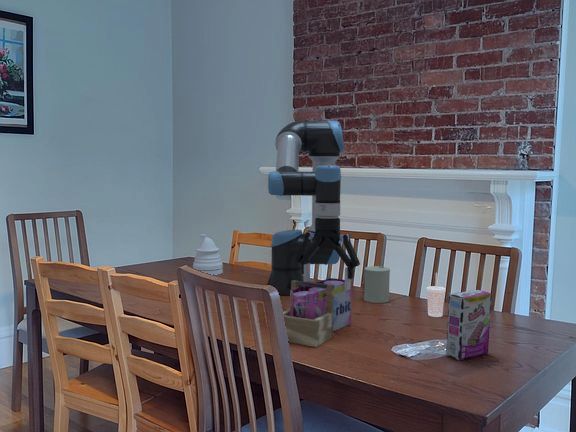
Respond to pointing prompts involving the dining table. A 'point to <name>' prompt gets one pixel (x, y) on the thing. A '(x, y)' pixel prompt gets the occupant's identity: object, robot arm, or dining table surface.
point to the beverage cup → (435, 300)
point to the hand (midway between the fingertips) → (326, 287)
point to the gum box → (322, 302)
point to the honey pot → (208, 257)
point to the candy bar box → (468, 324)
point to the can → (376, 284)
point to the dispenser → (311, 320)
